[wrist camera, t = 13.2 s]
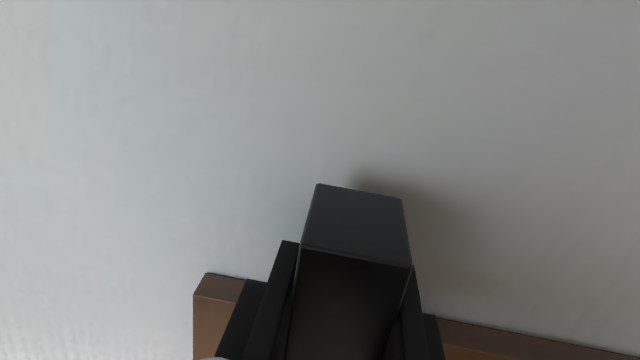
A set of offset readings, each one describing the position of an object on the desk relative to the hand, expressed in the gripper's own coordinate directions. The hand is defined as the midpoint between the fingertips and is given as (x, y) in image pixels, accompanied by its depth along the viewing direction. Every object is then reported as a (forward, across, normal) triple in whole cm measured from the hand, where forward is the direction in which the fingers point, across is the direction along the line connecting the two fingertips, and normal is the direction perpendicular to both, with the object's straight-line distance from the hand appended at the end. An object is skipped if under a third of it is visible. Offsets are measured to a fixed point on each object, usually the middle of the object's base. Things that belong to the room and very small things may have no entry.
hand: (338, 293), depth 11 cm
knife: (+1, 0, +7) cm, 7 cm away
